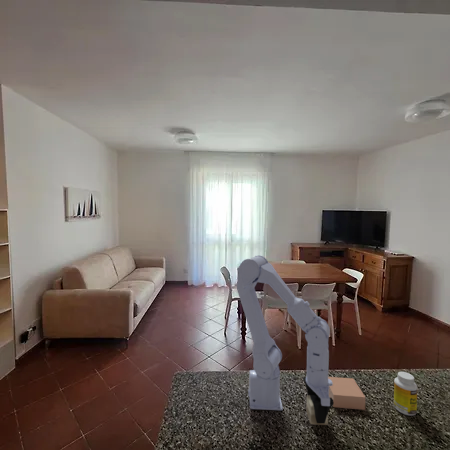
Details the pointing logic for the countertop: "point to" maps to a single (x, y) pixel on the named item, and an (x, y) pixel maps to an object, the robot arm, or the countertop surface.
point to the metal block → (313, 412)
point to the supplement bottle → (405, 394)
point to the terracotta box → (346, 393)
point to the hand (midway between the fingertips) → (316, 413)
